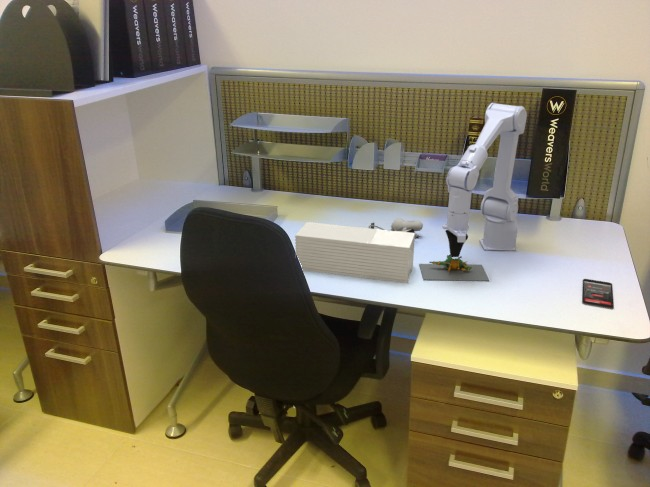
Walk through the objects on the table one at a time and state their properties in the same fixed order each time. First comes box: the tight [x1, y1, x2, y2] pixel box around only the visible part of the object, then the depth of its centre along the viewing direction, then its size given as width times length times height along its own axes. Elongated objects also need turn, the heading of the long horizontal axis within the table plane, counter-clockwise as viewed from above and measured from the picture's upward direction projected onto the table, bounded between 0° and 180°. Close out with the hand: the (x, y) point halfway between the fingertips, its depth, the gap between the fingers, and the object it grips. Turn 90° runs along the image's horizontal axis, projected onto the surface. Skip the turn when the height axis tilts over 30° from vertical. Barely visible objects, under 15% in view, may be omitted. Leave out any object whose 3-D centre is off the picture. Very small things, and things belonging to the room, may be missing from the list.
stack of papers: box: [294, 221, 416, 284], centre depth 163 cm, size 32×11×11 cm, turn 74°
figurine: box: [428, 254, 472, 272], centre depth 163 cm, size 3×12×8 cm
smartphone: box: [581, 278, 615, 310], centre depth 150 cm, size 7×1×15 cm
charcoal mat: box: [419, 263, 491, 282], centre depth 162 cm, size 18×10×1 cm, turn 88°
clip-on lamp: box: [368, 218, 424, 238], centre depth 185 cm, size 12×6×18 cm
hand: (454, 256), depth 160 cm, fingers closed
